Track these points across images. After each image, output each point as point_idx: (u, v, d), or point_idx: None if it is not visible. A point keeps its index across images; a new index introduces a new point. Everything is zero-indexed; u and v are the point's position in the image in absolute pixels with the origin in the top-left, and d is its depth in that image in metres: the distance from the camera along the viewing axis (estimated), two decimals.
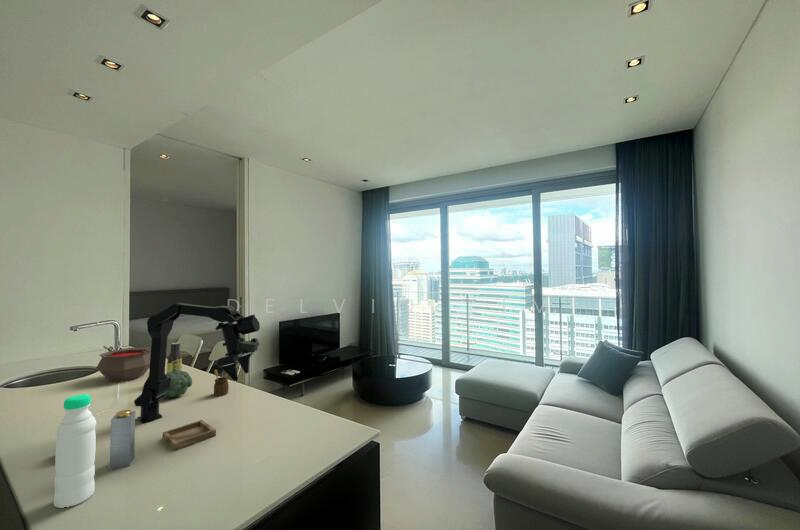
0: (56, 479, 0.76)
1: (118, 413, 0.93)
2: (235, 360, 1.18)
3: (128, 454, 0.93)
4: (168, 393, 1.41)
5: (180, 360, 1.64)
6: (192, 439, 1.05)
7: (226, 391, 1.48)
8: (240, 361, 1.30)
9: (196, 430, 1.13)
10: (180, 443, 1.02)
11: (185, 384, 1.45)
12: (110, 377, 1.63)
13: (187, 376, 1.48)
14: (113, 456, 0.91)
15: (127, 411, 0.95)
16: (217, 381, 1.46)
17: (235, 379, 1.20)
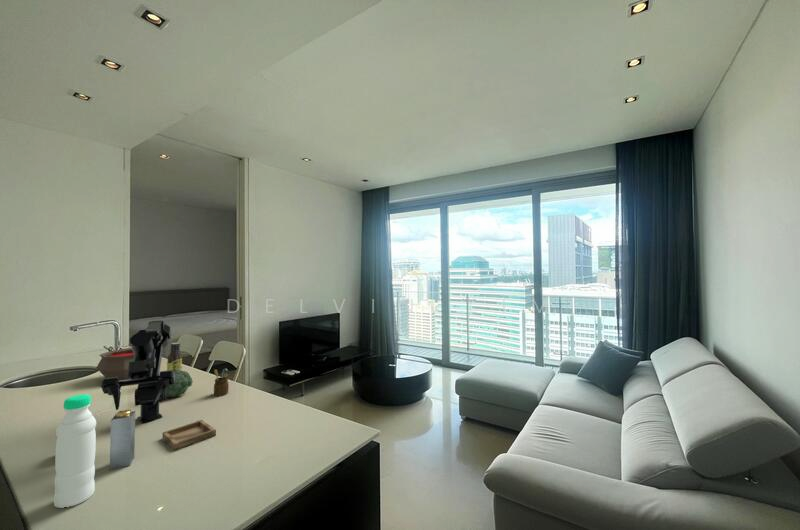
0: (56, 479, 0.76)
1: (118, 413, 0.93)
2: (107, 382, 1.01)
3: (128, 454, 0.93)
4: (168, 393, 1.41)
5: (180, 360, 1.64)
6: (192, 439, 1.05)
7: (226, 391, 1.48)
8: None
9: (196, 430, 1.13)
10: (180, 443, 1.02)
11: (185, 384, 1.45)
12: None
13: (187, 376, 1.48)
14: (113, 456, 0.91)
15: (127, 411, 0.95)
16: (217, 381, 1.46)
17: None
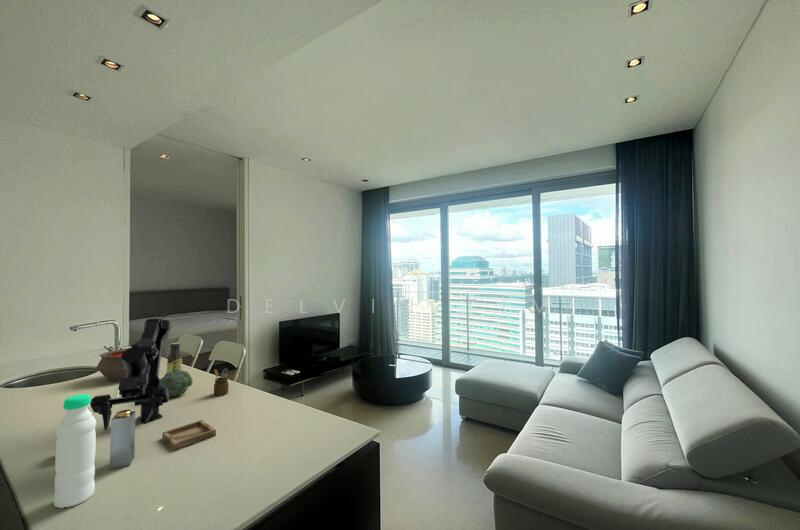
0: (56, 479, 0.76)
1: (118, 413, 0.93)
2: (96, 401, 0.96)
3: (128, 454, 0.93)
4: None
5: (180, 360, 1.64)
6: (192, 439, 1.05)
7: (226, 391, 1.48)
8: None
9: (196, 430, 1.13)
10: (180, 443, 1.02)
11: (185, 383, 1.46)
12: (110, 377, 1.63)
13: (187, 375, 1.49)
14: (113, 456, 0.91)
15: (127, 411, 0.95)
16: (217, 381, 1.46)
17: None
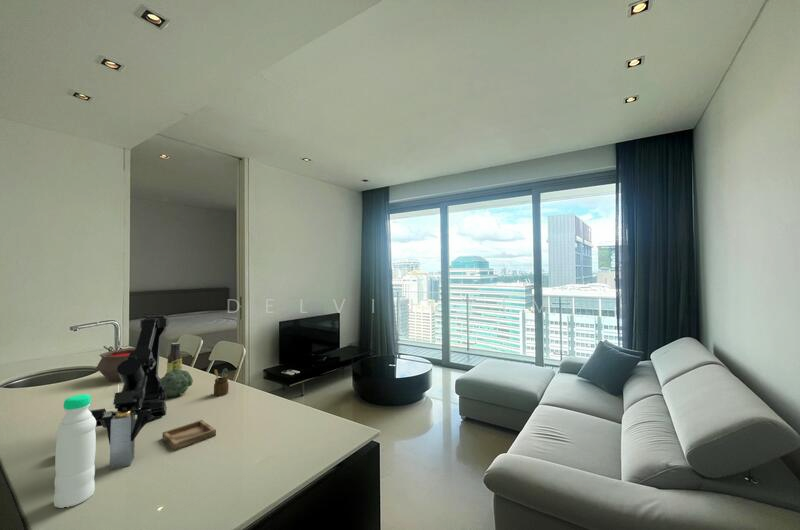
0: (56, 479, 0.76)
1: (118, 413, 0.93)
2: None
3: (128, 454, 0.93)
4: (169, 392, 1.42)
5: (180, 360, 1.64)
6: (192, 439, 1.05)
7: (226, 391, 1.48)
8: None
9: (196, 430, 1.13)
10: (180, 443, 1.02)
11: (185, 383, 1.46)
12: (110, 377, 1.63)
13: (187, 375, 1.49)
14: (113, 456, 0.91)
15: (127, 411, 0.95)
16: (217, 381, 1.46)
17: (109, 442, 0.92)
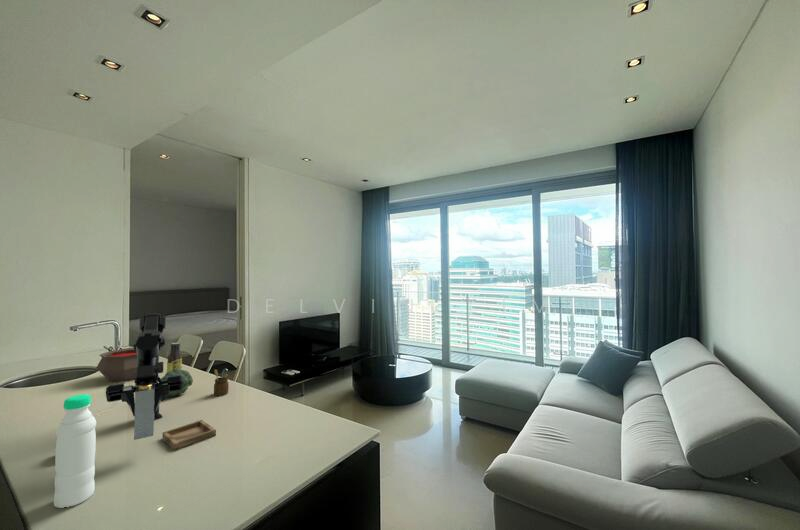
0: (56, 479, 0.76)
1: (141, 386, 0.97)
2: (112, 389, 0.95)
3: (151, 424, 0.97)
4: (169, 392, 1.42)
5: (180, 360, 1.64)
6: (192, 439, 1.05)
7: (226, 391, 1.48)
8: None
9: (196, 430, 1.13)
10: (180, 443, 1.02)
11: (186, 383, 1.47)
12: (110, 377, 1.63)
13: (188, 375, 1.49)
14: (137, 426, 0.95)
15: (149, 384, 0.99)
16: (217, 381, 1.46)
17: None
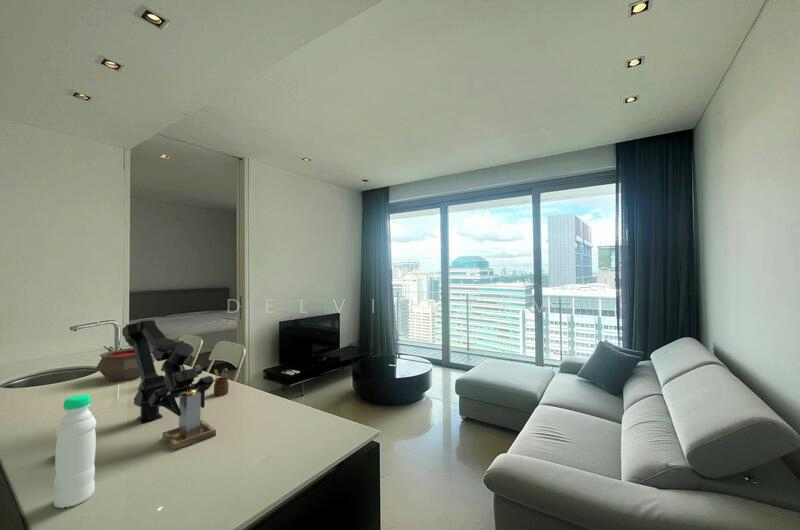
0: (55, 479, 0.76)
1: (188, 392, 1.09)
2: (161, 393, 1.04)
3: (199, 424, 1.10)
4: None
5: None
6: (192, 439, 1.05)
7: (226, 391, 1.48)
8: None
9: None
10: (180, 443, 1.02)
11: None
12: (110, 377, 1.63)
13: None
14: (188, 427, 1.07)
15: (193, 390, 1.11)
16: (217, 381, 1.46)
17: (178, 414, 1.06)
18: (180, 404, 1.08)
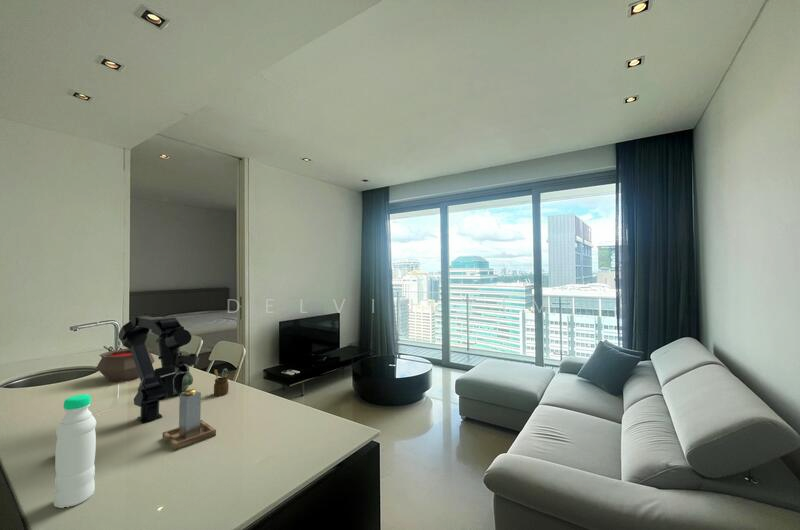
0: (56, 479, 0.76)
1: (188, 392, 1.09)
2: (175, 370, 1.11)
3: (199, 424, 1.10)
4: None
5: None
6: (192, 439, 1.05)
7: (226, 391, 1.48)
8: None
9: None
10: (180, 443, 1.02)
11: (186, 382, 1.48)
12: (110, 377, 1.63)
13: (188, 374, 1.50)
14: (188, 427, 1.07)
15: (193, 390, 1.10)
16: (217, 381, 1.46)
17: (171, 394, 1.11)
18: (180, 404, 1.08)
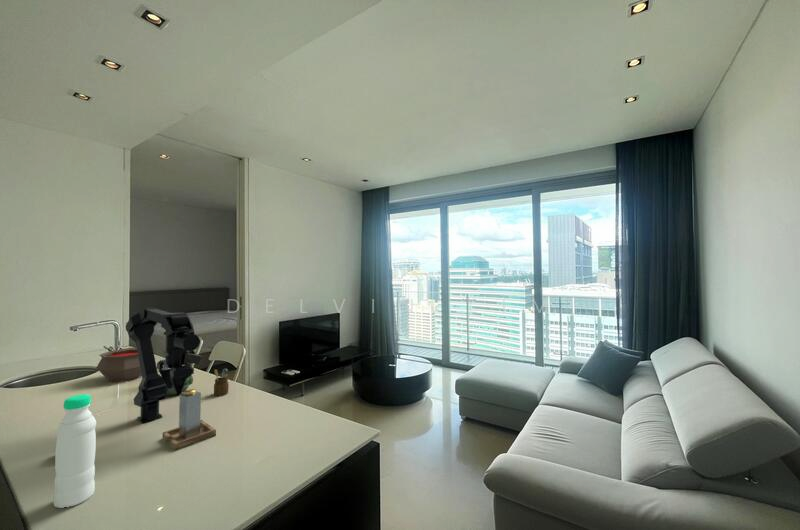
0: (56, 479, 0.76)
1: (188, 392, 1.09)
2: None
3: (199, 424, 1.10)
4: (170, 390, 1.44)
5: None
6: (192, 439, 1.05)
7: (226, 391, 1.48)
8: (164, 375, 1.18)
9: None
10: (180, 443, 1.02)
11: (186, 382, 1.48)
12: (110, 377, 1.63)
13: None
14: (188, 427, 1.07)
15: (193, 390, 1.10)
16: (217, 381, 1.46)
17: (179, 392, 1.13)
18: (180, 404, 1.08)
